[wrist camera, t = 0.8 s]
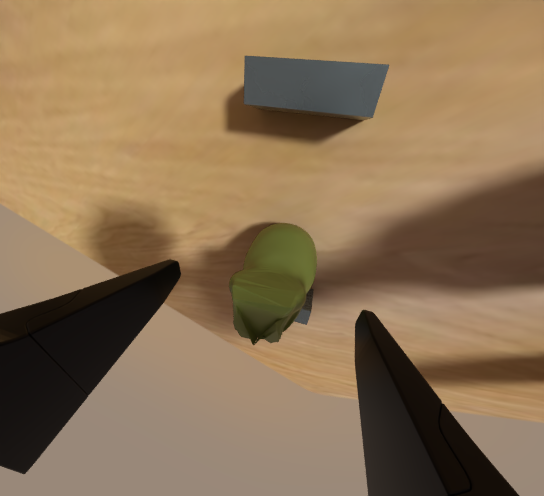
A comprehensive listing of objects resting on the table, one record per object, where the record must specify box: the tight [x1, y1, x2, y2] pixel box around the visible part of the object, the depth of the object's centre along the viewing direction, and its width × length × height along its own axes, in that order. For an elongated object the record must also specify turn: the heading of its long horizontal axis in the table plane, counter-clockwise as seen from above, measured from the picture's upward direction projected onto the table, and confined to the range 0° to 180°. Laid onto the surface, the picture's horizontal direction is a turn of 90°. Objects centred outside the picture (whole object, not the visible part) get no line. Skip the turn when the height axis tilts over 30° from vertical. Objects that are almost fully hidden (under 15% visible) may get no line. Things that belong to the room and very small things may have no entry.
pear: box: [229, 223, 317, 345], centre depth 14 cm, size 6×5×10 cm
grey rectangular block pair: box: [244, 56, 389, 325], centre depth 16 cm, size 7×19×3 cm, turn 174°
